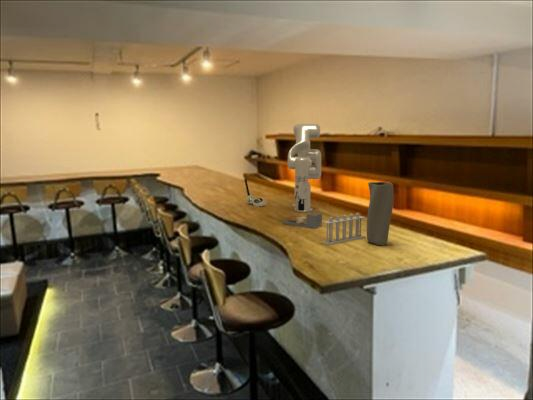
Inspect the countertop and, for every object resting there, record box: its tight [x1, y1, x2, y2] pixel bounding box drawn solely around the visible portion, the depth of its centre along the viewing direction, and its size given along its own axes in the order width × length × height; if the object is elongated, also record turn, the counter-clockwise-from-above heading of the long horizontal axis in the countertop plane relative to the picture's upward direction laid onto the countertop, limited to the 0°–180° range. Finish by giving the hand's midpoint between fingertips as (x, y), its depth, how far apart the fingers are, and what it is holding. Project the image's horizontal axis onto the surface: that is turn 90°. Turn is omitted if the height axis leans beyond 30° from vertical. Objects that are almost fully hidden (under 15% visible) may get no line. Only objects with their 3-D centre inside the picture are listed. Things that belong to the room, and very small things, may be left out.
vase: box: [366, 181, 395, 246], centre depth 201 cm, size 12×12×30 cm
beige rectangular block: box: [295, 215, 306, 224], centre depth 241 cm, size 12×4×5 cm, turn 50°
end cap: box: [305, 212, 323, 230], centre depth 238 cm, size 6×8×8 cm
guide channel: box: [281, 219, 306, 228], centre depth 245 cm, size 16×6×2 cm, turn 58°
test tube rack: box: [321, 212, 367, 246], centre depth 209 cm, size 25×4×13 cm, turn 121°
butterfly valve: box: [243, 178, 268, 208], centre depth 305 cm, size 9×20×17 cm
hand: (301, 210), depth 241 cm, fingers closed
